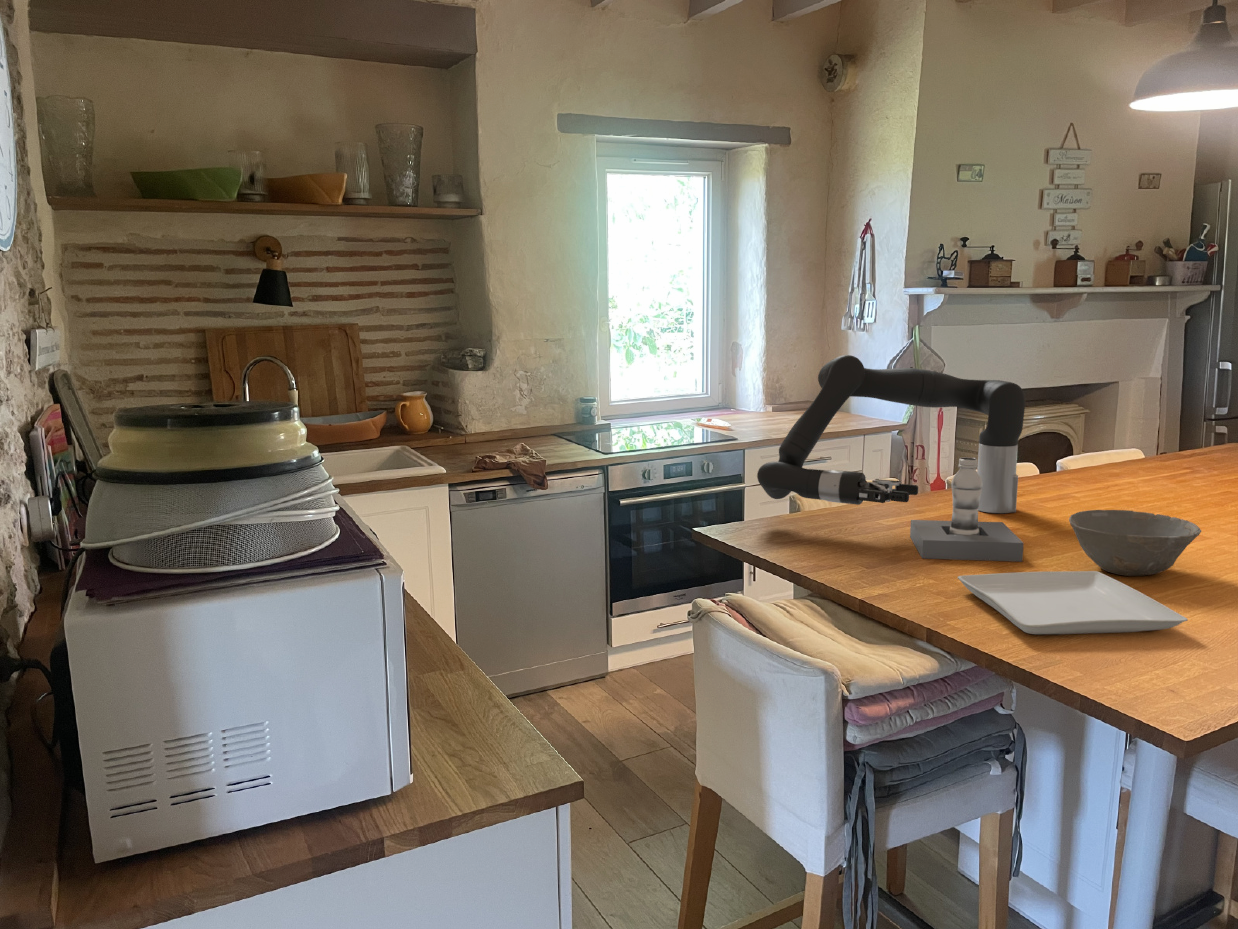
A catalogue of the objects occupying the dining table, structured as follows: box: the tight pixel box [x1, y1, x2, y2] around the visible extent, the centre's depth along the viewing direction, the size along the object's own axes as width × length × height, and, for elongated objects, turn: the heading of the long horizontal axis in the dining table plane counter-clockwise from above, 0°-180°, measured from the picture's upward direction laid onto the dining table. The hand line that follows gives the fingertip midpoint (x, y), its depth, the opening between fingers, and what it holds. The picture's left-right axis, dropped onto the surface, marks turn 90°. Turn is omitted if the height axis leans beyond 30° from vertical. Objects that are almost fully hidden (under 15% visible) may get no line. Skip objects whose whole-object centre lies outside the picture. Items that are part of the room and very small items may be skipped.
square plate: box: [957, 570, 1188, 635], centre depth 158 cm, size 27×27×4 cm
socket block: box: [909, 519, 1025, 562], centre depth 198 cm, size 20×18×4 cm
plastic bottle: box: [948, 456, 983, 536], centre depth 197 cm, size 6×7×20 cm
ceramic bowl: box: [1068, 509, 1202, 577], centre depth 180 cm, size 22×23×10 cm
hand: (913, 493), depth 202 cm, fingers open, 8 cm apart
